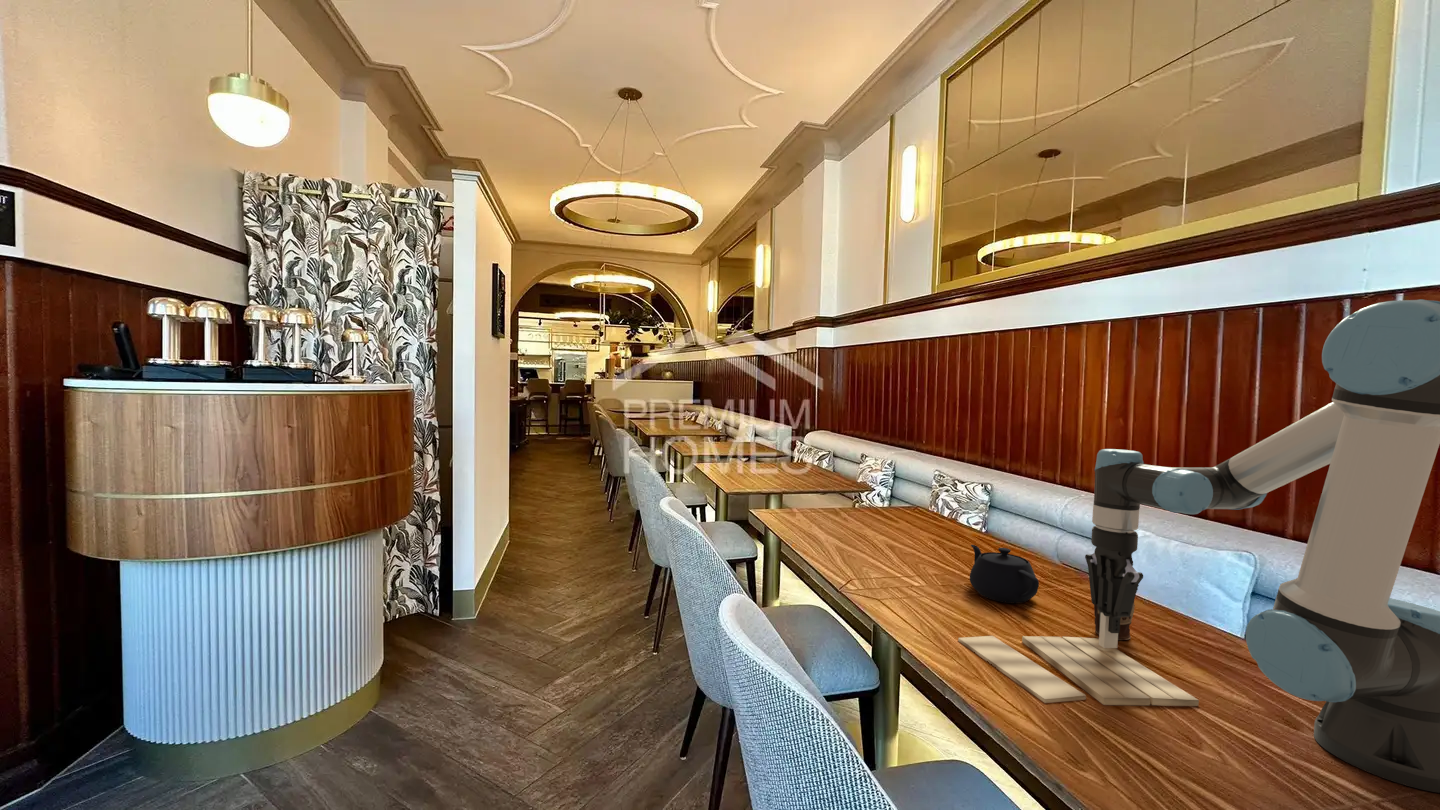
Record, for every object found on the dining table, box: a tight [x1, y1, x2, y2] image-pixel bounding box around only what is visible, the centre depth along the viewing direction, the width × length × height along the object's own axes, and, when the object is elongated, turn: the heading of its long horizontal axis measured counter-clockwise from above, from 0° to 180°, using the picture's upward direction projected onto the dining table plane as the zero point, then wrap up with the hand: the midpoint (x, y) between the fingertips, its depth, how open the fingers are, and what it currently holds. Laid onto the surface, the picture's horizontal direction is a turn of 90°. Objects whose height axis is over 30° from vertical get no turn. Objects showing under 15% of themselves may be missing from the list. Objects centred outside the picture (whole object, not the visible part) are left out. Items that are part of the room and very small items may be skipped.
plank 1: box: [958, 635, 1087, 704], centre depth 110 cm, size 24×8×1 cm, turn 12°
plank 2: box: [1061, 636, 1200, 707], centre depth 109 cm, size 24×8×1 cm, turn 3°
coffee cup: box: [1093, 584, 1140, 641], centre depth 126 cm, size 9×8×13 cm
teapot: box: [969, 544, 1040, 604], centre depth 149 cm, size 25×16×12 cm, turn 11°
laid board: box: [1021, 635, 1151, 706], centre depth 109 cm, size 24×8×1 cm, turn 3°
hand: (1107, 646), depth 115 cm, fingers closed
